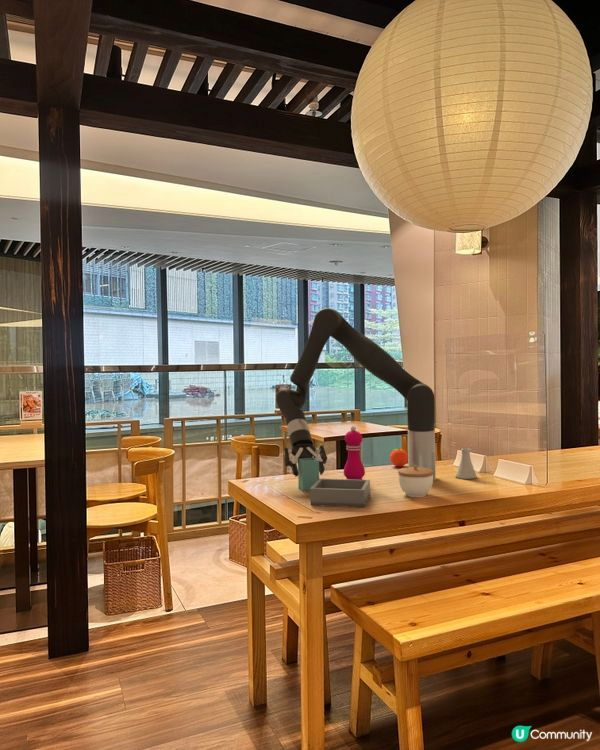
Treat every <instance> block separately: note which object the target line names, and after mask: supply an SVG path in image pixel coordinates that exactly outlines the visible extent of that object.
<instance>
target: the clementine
mask: <svg viewBox="0 0 600 750" xmlns="http://www.w3.org/2000/svg"><path fill="white" fill-rule="evenodd" d="M389 453H390V452H388V453H387V455H389ZM389 459H390V462H391V464H392V465H393V466H395V467H398V468H403V467H404V466H405V465H407V463H408V452H406V451H405V450H404V449H401V448H392V450H391V453H390V456H389Z"/></svg>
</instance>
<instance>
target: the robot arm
mask: <svg viewBox="0 0 600 750" xmlns="http://www.w3.org/2000/svg"><path fill="white" fill-rule="evenodd" d="M330 338H332V339H334V340H336V341H337V342H338V343H339V344H341V345H342V346H343V347H344V348H345V349H346V350H347V351H348V353H350V356H352V357H353V358H354V359H355V361H356V362H357V363H358V364H359V365H360V366H361V367H363V368H364V369H365V370H366V371H368V372H369V373H370V374H372V376H375V377H376V378H377V379H379V380H381V381H382V382H384V383H385V384H388V385H389V386H390V387H392V388H394V389H395V390H396V391H397V392H398V393H399V394H400V395H401V396H402V397H403V398H404V399H405V400H406V402H407V403H406V407H407V408H406V409H407V410H406V411H407V412H406V413H407V414H406V415H407V455H408V461H407V463H408V465H407V466H408V467H414V465H417V467H422V468H429V469H432V470H433V482H435V481H436V479H437V478H436V477H437V475H436V474H437V473H436V472H437V471H436V468H437V466H436V435H435V434H436V427H435V426H436V401H435V393H434V391H433V389H432V388H431V387H430V386H429V385H427V384H426V383H423V382H422V381H420V380H419V379H417V378H415V376H414V375H412V374H410V373H409V372H408V371H406V370H405V369H404V367H402V365H400V363H399V362H397V360H396V359H395V358H394V357H393V356H391V355H390V354H389V353H388V352H387V351H386V350H385V349H383V348H382V347H381V346H379V345H378V344H377V343H376V342H375V341H373V340H372V339H370V338H369V337H367V336H365V334H363V333H361V332H360V331H358V330H357V329H356V328H355V327H353V326H352V325H351V324H350V323H349V322H348V321H347V320H346V318H345V317H343V315H342V314H340V312H338V311H337V310H336V309H334V308H331V307H330V308H329V307H328V308H327V307H325V308H321V309H320V310H318V311H317V312H316V313H315V315H314V319H313V322H312V327H311V329H310V333H309V335H308V339H307V341H306V344H305V346H304V348H303V350H302V352H301V354H300V356H299V359H298V361H297V363H296V364H295V367H294V368H293V371H292V373H291V375H290V377H289V380H290V382H291V383H292V384H294V386H296V389H295V390H293V389H291V388H288V387H282V388H280V389H279V390H278V391H277V393H276V397H275V402H276V405H277V407H278V409H279V411H280V412H281V414H282V416H283V417H284V419H285V422H286V423H285V424H286V429H287V435H288V436H287V437H288V440H289V443H290V446H291V447H290V448H291V449H289V448H288V447H284V450H283V460H284V466H285V467H286V468H287V467H290V468H291V471H292V472H291V473H292V475H293V476H294V477H295V478H296V477H298V466H297V465H298V459H299V458H313V457H314V458H316V459H318V460H319V476H321V475H323V474H324V472H325V466H324V465H326V464H327V461H328V456H327V454H326V451H325V448H324V445H320V446H319V447H318V446H317V447H316V446H314V442H313V439H312V435H311V431H310V427H309V424H308V422H307V419H306V416H305V413H304V410H303V409H302V408H303V407H304V405H305V402H306V397H307V394H308V393H307V392H308V387H309V383H310V381H311V379H312V378H313V375H314V373H315V371H316V369H317V367H318V364H319V361H320V357H321V354H322V352H323V349H324V348H325V345H326V344H327V342H328V340H329V339H330ZM290 455H292V456H294V457H293V459H292V460H291V459H290Z"/></svg>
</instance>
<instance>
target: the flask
mask: <svg viewBox="0 0 600 750" xmlns="http://www.w3.org/2000/svg"><path fill="white" fill-rule="evenodd" d="M471 450H472V449H471V448H461V450H460V451H461V459H460V462H459V466H458V468H457V472H456V474H455V478H458V479H462V480H472V479H473V480H474V479H476V478H477V473H476V470H475V468H474V466H473V462H472V459H471Z"/></svg>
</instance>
